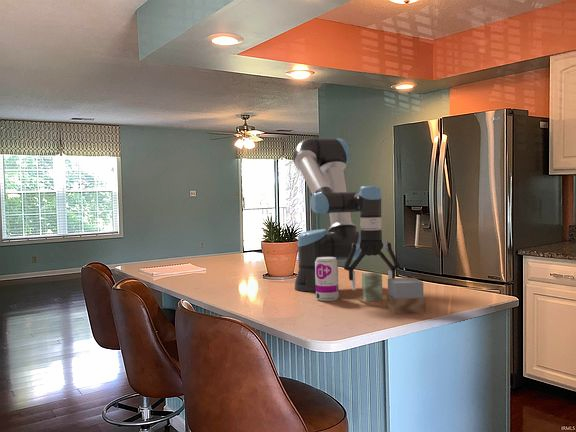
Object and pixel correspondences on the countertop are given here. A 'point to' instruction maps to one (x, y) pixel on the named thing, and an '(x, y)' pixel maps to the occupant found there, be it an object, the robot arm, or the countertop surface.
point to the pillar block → (372, 286)
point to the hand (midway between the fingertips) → (372, 288)
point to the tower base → (406, 305)
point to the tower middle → (405, 288)
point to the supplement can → (326, 278)
